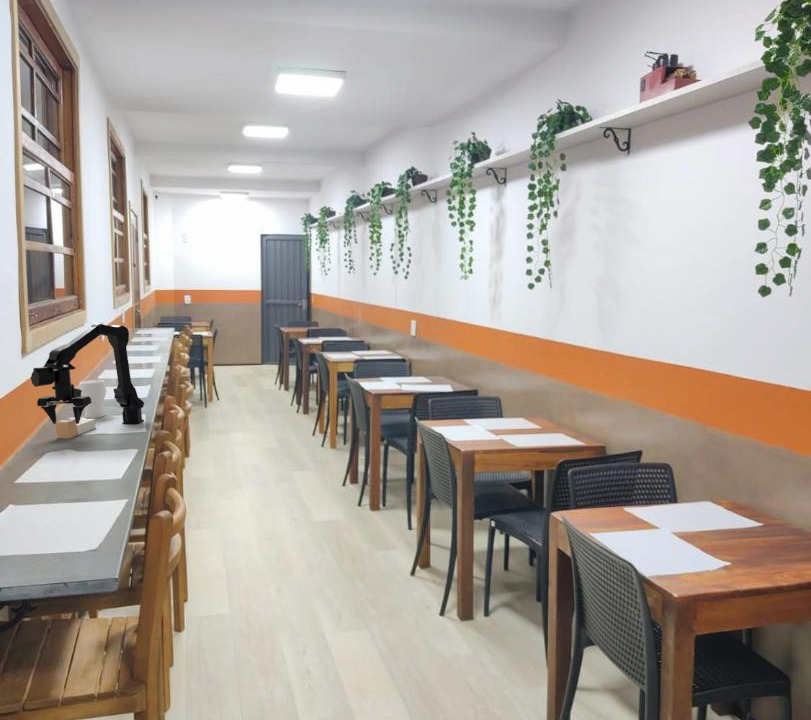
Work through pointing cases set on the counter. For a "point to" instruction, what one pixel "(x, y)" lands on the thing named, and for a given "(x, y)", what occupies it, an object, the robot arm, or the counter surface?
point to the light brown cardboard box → (66, 428)
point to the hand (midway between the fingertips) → (66, 423)
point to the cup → (94, 397)
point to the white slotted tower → (85, 425)
